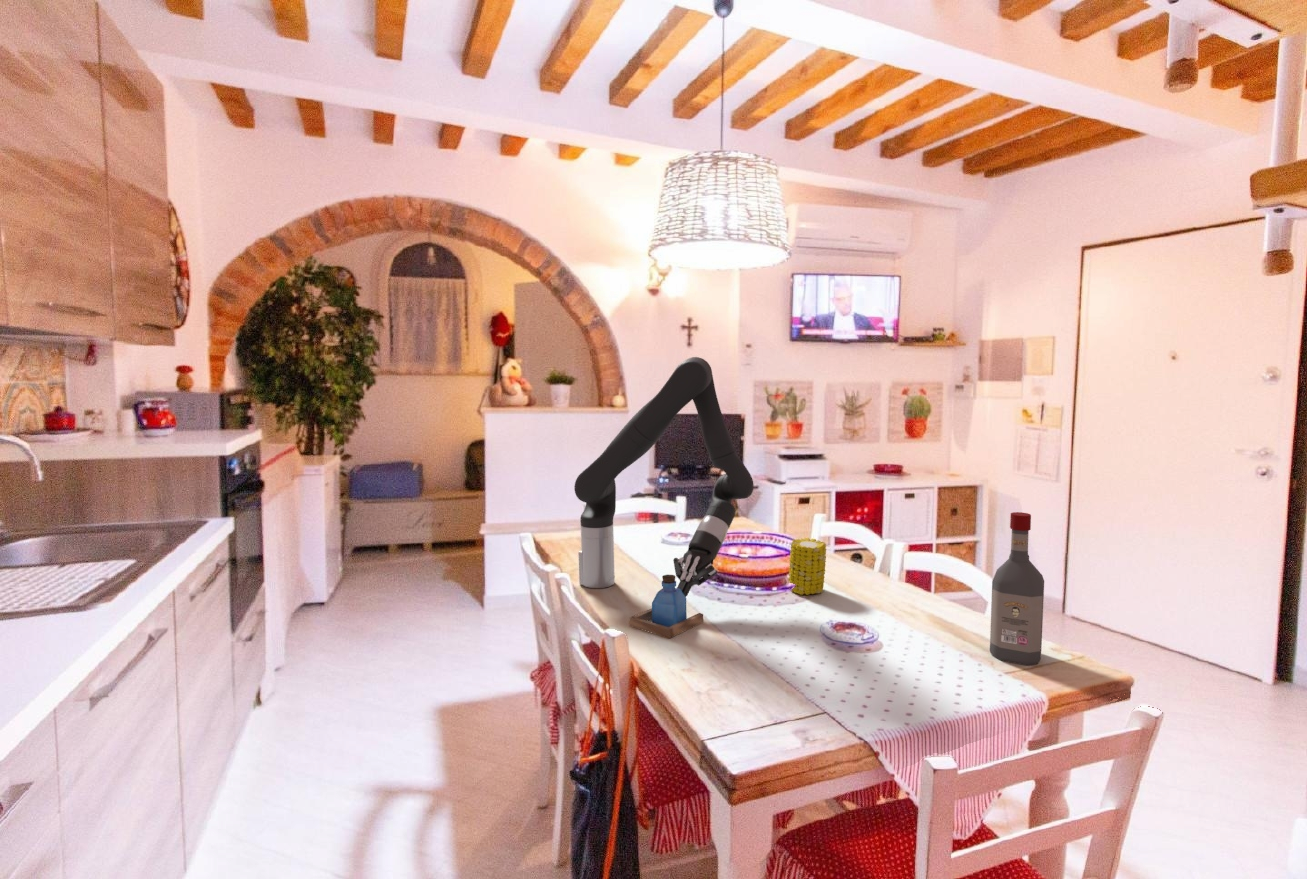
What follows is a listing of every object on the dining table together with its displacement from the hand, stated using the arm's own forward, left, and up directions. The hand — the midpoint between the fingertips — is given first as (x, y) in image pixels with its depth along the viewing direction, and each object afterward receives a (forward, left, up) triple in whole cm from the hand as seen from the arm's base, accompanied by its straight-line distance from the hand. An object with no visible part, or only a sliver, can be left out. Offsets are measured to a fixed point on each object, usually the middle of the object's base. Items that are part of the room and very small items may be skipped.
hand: (679, 596), depth 166 cm
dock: (-1, -5, -5) cm, 8 cm away
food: (+24, +31, -6) cm, 40 cm away
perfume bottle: (0, -6, -6) cm, 8 cm away
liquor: (+73, +7, -6) cm, 74 cm away
